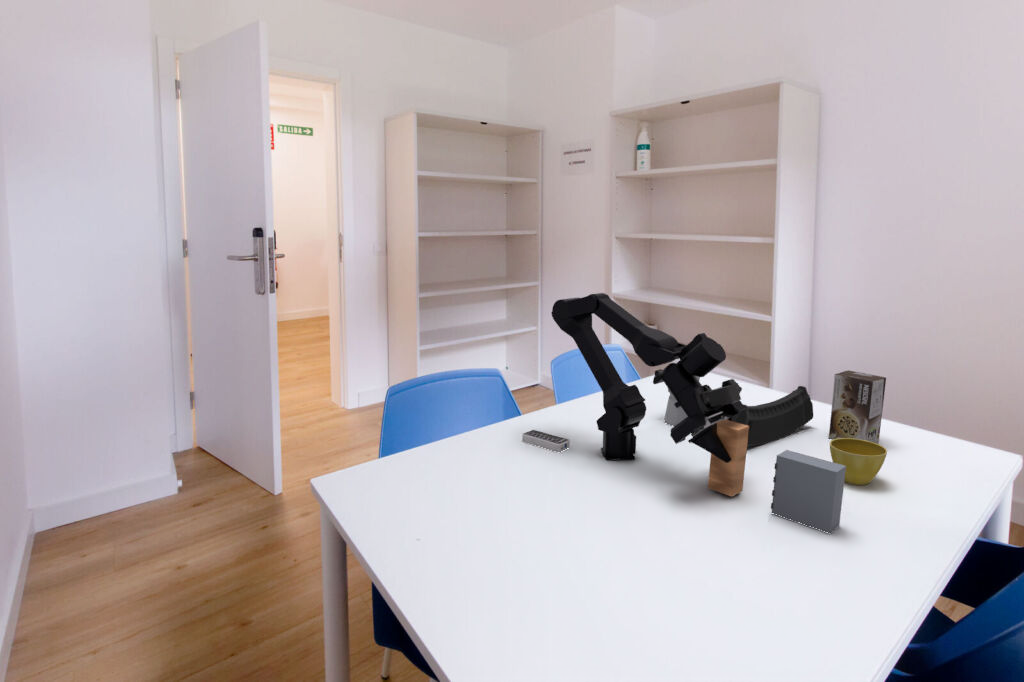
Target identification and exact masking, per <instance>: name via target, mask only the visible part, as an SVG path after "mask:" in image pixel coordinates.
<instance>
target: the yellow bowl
mask: <svg viewBox="0 0 1024 682" xmlns="http://www.w3.org/2000/svg"><path fill="white" fill-rule="evenodd" d="M829 450H830V451H829V452H830V457H831V462H833V463H837V464H841V465H844V466H846V471H845V480H844V483H847V484H851V485H856V486H857V485H858V486H864V485H868V484H870V482H871V481H873V480H874V479H875V477H877V475H878V473H879V472H880V470H881V469H882V467H883V465H884V464H885V463H884V462H885V460H886V457H887V454H888V450H887V448H886V447H884V446H882V445H881V444H876V443H873V442H870V441H866V440H860V439H853V438H838V439H831V440H830V442H829Z"/></svg>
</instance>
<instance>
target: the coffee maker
mask: <svg viewBox="0 0 1024 682" xmlns="http://www.w3.org/2000/svg"><path fill="white" fill-rule="evenodd" d="M696 378H697V379H698V381H699V382H700V378H701V377H698V376H696ZM667 392H668V393H669V395H668V400H667V404H666V409H665V412H664V419H663V420H665V421H664V424H665V423H667V424H666V425H668V424H670V425H669V426H671V425H673V426H672V427H674V426H676V425H677V424H678V423H680V422H681V421H682V420H684V419H685V418H686V417H688V416H687V415H686V413H685V412H684V411H683V409H682V408H681V407H679V408H676V407H675V405H674V404H675V403H676V402H677V400H676V399H675V397H674V396H673V395H672V393H671V392H670V390H669V389H668V388H667Z"/></svg>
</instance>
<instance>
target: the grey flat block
mask: <svg viewBox="0 0 1024 682" xmlns="http://www.w3.org/2000/svg"><path fill="white" fill-rule="evenodd" d="M775 460H776V461H775V463H774V472H775V473H774V476H773V478H772V479H773V480H772V482H773V483H774V484H773V489H772V492H771V493H772V494H771V496H772V502H770V503H771V505H770V509H771V513H774V514H777V515H780V516H782V517H785V518H787V519H786V520H788V519H791V520H793V521H792V522H794V521H796V522H795V523H797V522H800V523H802V524H805V525H807V526H806V527H808V526H811V527H814V528H817V529H820V530H822V531H825V532H828V533H831V532H832V531H833V532H835V531H836V530H837V529H838V528H839V527H840V521H841V512H842V503H843V497H844V488H845V487H844V486H845V481H844V480H845V471H846V466H844V465H841V464H837V463H833V461H830V460H825V459H822V458H818V457H815V456H810V455H807V454H803V453H799V452H797V451H793V450H789V449H786V450H784V451H782V452H780V453H779V454H777V455H776V459H775ZM774 514H773V515H774ZM777 515H776V516H777ZM780 516H779V517H780ZM782 517H781V518H782ZM785 518H784V519H785ZM791 520H790V521H791ZM802 524H801V525H802ZM805 525H804V526H805ZM838 526H839V527H838ZM811 527H810V528H811ZM837 527H838V528H837ZM814 528H813V529H814ZM836 528H837V529H836ZM835 529H836V530H835ZM822 531H821V532H822ZM825 532H824V533H825ZM833 532H832V533H833ZM828 533H827V534H828ZM832 533H831V534H832Z"/></svg>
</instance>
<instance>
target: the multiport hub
mask: <svg viewBox="0 0 1024 682" xmlns="http://www.w3.org/2000/svg"><path fill="white" fill-rule="evenodd" d="M521 442H522V443H524V442H525V443H524V444H527V443H529V444H528V445H531V444H533V445H532V446H534V445H536V446H535V447H537V446H540V447H539V448H541V447H543V448H542V449H544V448H546V449H545V450H547V449H549V450H548V451H550V450H552V451H551V452H554V451H556V452H555V453H557V452H560V453H562V452H561V451H563V450H565V449H567V448H569V447H570V446H571V444H570V443H571V440H570V439H569V438H566V437H565V438H564V437H561V436H557V435H554V434H550V433H547V432H544V431H540V430H536V429H532V430H528V431H526V432H524V433H522V439H521ZM570 448H571V447H570ZM570 448H569V449H570ZM567 450H568V449H567ZM565 451H566V450H565ZM563 452H564V451H563Z"/></svg>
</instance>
